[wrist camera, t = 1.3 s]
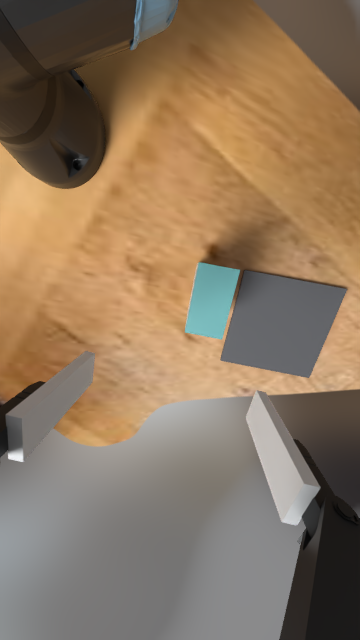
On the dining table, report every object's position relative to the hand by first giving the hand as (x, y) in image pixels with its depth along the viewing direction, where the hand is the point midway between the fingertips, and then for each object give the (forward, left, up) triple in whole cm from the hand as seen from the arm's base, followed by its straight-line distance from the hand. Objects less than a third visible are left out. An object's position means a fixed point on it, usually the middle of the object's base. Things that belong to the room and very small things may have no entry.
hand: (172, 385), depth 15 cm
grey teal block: (-5, +3, -23) cm, 23 cm away
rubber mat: (-1, +18, -22) cm, 29 cm away
